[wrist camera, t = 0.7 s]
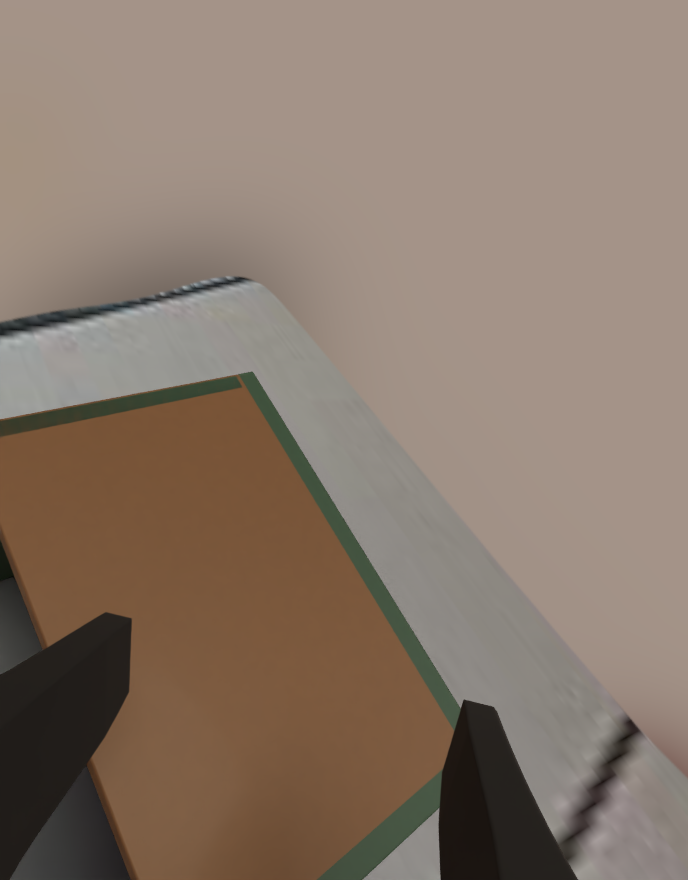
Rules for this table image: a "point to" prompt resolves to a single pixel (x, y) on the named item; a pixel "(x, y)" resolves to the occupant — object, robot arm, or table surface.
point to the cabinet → (225, 636)
